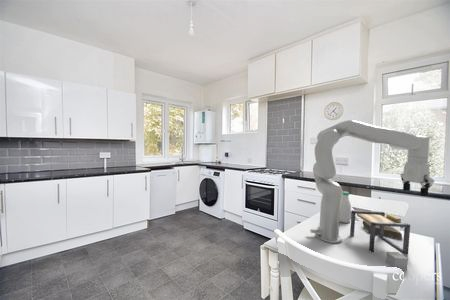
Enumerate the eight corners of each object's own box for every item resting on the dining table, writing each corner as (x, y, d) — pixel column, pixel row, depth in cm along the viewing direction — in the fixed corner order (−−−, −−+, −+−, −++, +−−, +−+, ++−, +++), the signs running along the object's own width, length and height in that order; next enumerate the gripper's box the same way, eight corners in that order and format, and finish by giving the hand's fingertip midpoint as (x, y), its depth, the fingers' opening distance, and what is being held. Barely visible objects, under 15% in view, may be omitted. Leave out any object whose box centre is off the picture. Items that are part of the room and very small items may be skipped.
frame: (370, 252, 96) (372, 223, 95) (350, 235, 113) (351, 210, 113) (408, 254, 95) (410, 224, 94) (381, 236, 112) (383, 211, 112)
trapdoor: (372, 225, 97) (373, 219, 97) (356, 215, 110) (357, 210, 110) (406, 227, 97) (406, 221, 97) (386, 217, 110) (386, 212, 110)
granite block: (394, 269, 83) (395, 258, 83) (385, 262, 88) (386, 251, 88) (407, 270, 83) (407, 258, 83) (397, 263, 88) (398, 252, 88)
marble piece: (402, 240, 110) (403, 233, 110) (372, 236, 113) (373, 229, 113) (385, 227, 126) (386, 221, 126) (359, 224, 129) (360, 218, 129)
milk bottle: (351, 224, 129) (353, 194, 128) (337, 222, 132) (339, 192, 131) (348, 219, 136) (350, 191, 135) (336, 218, 139) (337, 190, 138)
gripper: (395, 158, 110) (393, 188, 111) (426, 161, 93) (423, 197, 93) (409, 158, 110) (407, 189, 110) (443, 162, 92) (439, 198, 93)
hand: (414, 193), depth 102 cm, fingers open, 9 cm apart
